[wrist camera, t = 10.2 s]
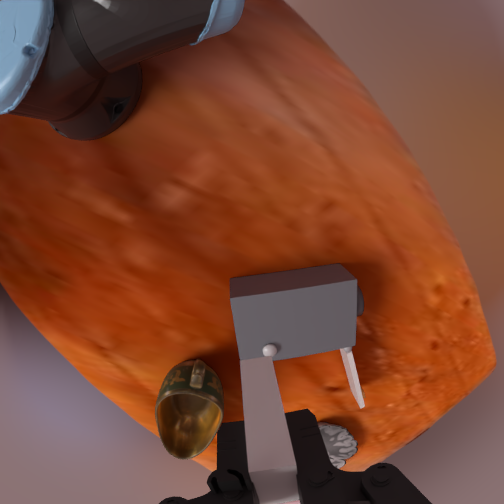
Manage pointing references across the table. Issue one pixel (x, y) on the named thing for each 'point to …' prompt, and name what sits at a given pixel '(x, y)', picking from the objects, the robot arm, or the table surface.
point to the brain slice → (337, 443)
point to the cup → (189, 408)
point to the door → (352, 375)
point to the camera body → (295, 312)
